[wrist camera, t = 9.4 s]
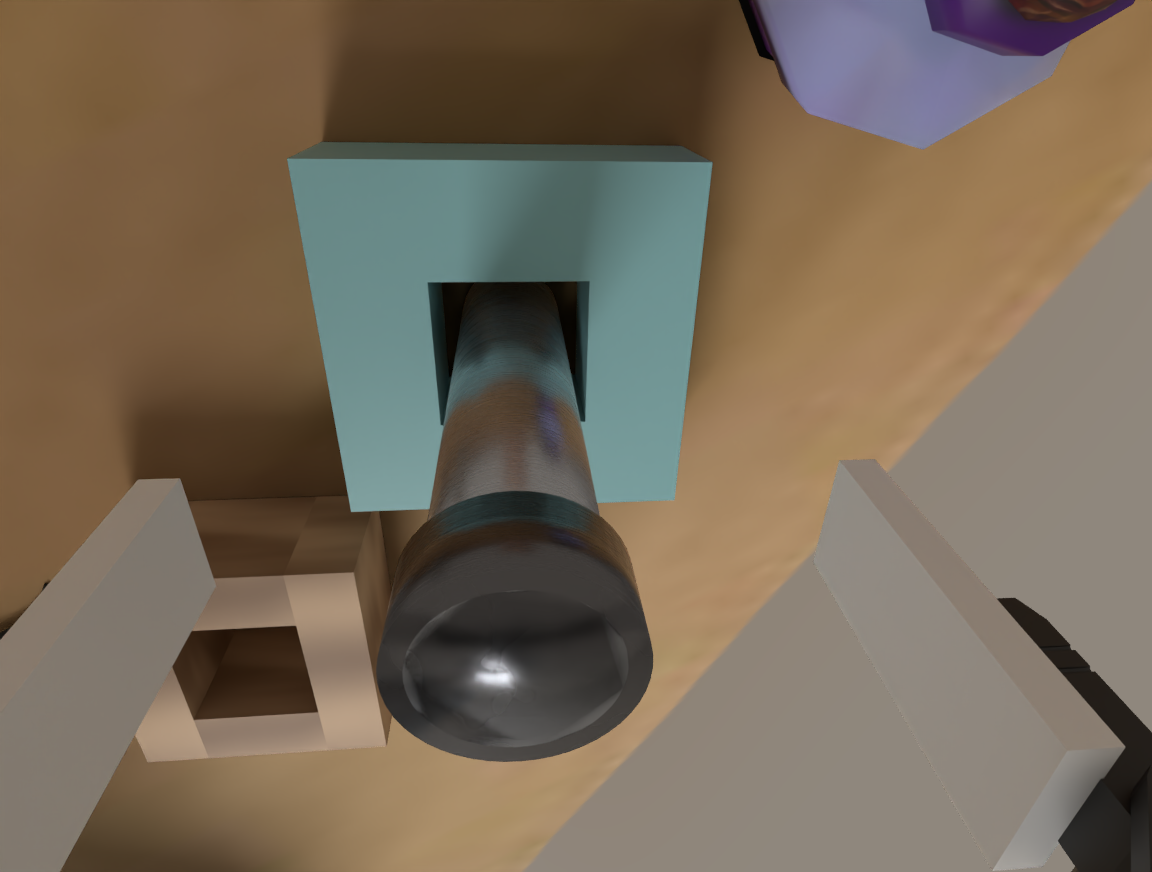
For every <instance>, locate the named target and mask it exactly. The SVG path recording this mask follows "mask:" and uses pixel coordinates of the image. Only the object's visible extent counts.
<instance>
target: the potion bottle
mask: <svg viewBox="0 0 1152 872" xmlns="http://www.w3.org/2000/svg"><path fill="white" fill-rule="evenodd" d="M1134 1H1135V0H739V2H740V5H741V7H742V10H743V13H744V16H745V18H746V21H747V24H748V26H749V29H750V32H751V35H752V37H753V40H754V43H755V45H756V48H757V51H758V54H759V56H761V57H764V58H767V59H770V60H773V61H775V64H776V67H777V70H778V73H779V76H780V79H781V82H782V83H783V85H784V86H785V87H786V88H787V89H788V90H789V92H790V93H791V94H792V95H793V96H794V98H795V99H796V100H797V101H798V102H799V103H800V105H801V106H802V107H803V108H804V109H805V111H806V112H807V113H809V114H812V115H815V116H818V117H821V118H824V119H828V120H831V121H834V122H837V123H840V124H843V125H847V126H850V127H853V128H856V129H859V130H862V131H866V132H869V133H872V134H875V135H878V136H881V137H885V138H888V139H891V140H894V141H897V142H901V143H904V144H907V145H910V146H913V147H916V148H920V149H925V148H927V147H928V146H930V145H932V144H934V143H935V142H937V141H939V140H941V139H942V138H944V137H946V136H948V135H949V134H951V133H953V132H954V131H956V130H958V129H960V128H961V127H963V126H965V125H967V124H968V123H970V122H972V121H974V120H975V119H977V118H979V117H981V116H982V115H984V114H986V113H988V112H989V111H991V110H993V109H995V108H996V107H998V106H1000V105H1002V104H1003V103H1005V102H1007V101H1009V100H1010V99H1012V98H1014V97H1016V96H1017V95H1019V94H1021V93H1023V92H1024V91H1026V90H1028V89H1030V88H1031V87H1033V86H1035V85H1037V84H1038V83H1040V82H1042V81H1044V80H1045V79H1047V78H1049V77H1050V76H1052V74H1053V72H1054V70H1055V68H1056V66H1057V65H1058V63H1059V61H1060V59H1061V57H1062V55H1063V53H1064V52H1065V50H1066V48H1067V46H1068V44H1069V42H1070V40H1072V39H1074V38H1075V37H1077V36H1079V35H1081V34H1082V33H1084V32H1086V31H1088V30H1089V29H1091V28H1093V27H1094V26H1096V25H1098V24H1100V23H1101V22H1103V21H1105V20H1107V19H1108V18H1110V17H1112V16H1113V15H1115V14H1117V13H1119V12H1120V11H1122V10H1124V9H1125V8H1127V7H1129V6H1131V5H1132V4H1133V3H1134Z"/></svg>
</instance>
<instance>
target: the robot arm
mask: <svg viewBox="0 0 1152 872" xmlns="http://www.w3.org/2000/svg"><path fill="white" fill-rule="evenodd" d="M813 563H814V565H815V566H816V568H817V570H818V572H819V573H820V575H821V577H822V578H823V580H824V582H825V584H826V585H827V587H828V589H829V590H830V592H831V594H832V596H833V597H834V599H835V601H836V603H837V604H838V606H839V608H840V609H841V611H842V613H843V615H844V616H845V618H846V620H847V622H848V623H849V625H850V627H851V628H852V630H853V632H854V633H855V635H856V637H857V639H858V640H859V642H860V644H861V646H862V647H863V649H864V651H865V653H866V654H867V656H868V658H869V660H870V661H871V663H872V665H873V666H874V668H875V670H876V672H877V673H878V675H879V677H880V678H881V680H882V682H883V684H884V685H885V687H886V689H887V690H888V692H889V694H890V696H891V697H892V699H893V701H894V703H895V704H896V706H897V708H898V710H899V711H900V713H901V715H902V716H903V718H904V720H905V721H906V723H907V725H908V727H909V728H910V730H911V732H912V733H913V735H914V737H915V739H916V740H917V742H918V744H919V746H920V747H921V749H922V751H923V753H924V754H925V756H926V758H927V760H928V761H929V763H930V765H931V766H932V768H933V770H934V772H935V773H936V775H937V777H938V778H939V780H940V782H941V784H942V785H943V787H944V789H945V790H946V792H947V794H948V796H949V797H950V799H951V801H952V803H953V804H954V806H955V808H956V810H957V811H958V813H959V815H960V816H961V818H962V820H963V822H964V823H965V825H966V827H967V829H968V830H969V832H970V834H971V835H972V837H973V839H974V841H975V842H976V844H977V846H978V847H979V849H980V851H981V852H982V854H983V856H984V858H985V860H986V861H987V863H988V865H989V866H990V868H991V870H992V871H999V870H1011V869H1022V868H1035V867H1043V865H1044V864H1045V862H1046V861H1047V860H1048V858H1049V857H1050V855H1051V854H1052V852H1053V851H1054V849H1055V848H1056V847H1057V845H1058V844H1059V843H1060V845H1061V846H1062V848H1063V849H1064V851H1065V852H1066V854H1067V855H1068V856H1069V858H1070V859H1071V861H1072V862H1073V864H1074V865H1075V868H1074V869H1073V870H1072V872H1152V732H1151V731H1150V730H1149V729H1148V728H1147V727H1146V726H1145V725H1144V724H1143V723H1142V722H1141V721H1140V719H1139V718H1138V717H1137V716H1136V715H1135V714H1134V713H1133V712H1132V711H1131V710H1130V709H1129V708H1128V707H1127V705H1126V704H1125V703H1124V702H1123V701H1122V700H1121V699H1120V698H1119V697H1118V696H1117V695H1116V694H1115V692H1113V690H1112V689H1110V687H1109V686H1108V685H1107V684H1106V683H1105V682H1104V681H1103V680H1102V679H1101V677H1100V676H1099V675H1098V674H1097V673H1096V672H1091V670H1090V666H1089V665H1088V663H1087V662H1086V661H1085V660H1084V659H1083V658H1082V657H1081V656H1080V655H1079V654H1078V653H1077V652H1076V650H1071V648H1070V644H1069V643H1068V642H1067V641H1066V640H1065V639H1064V638H1063V636H1062V635H1061V634H1060V633H1059V632H1058V631H1057V630H1056V629H1055V628H1054V627H1053V626H1052V625H1051V624H1050V622H1048V620H1047V619H1045V618H1044V617H1042V616H1041V615H1039V614H1038V613H1036V612H1035V611H1034V610H1032V609H1031V608H1029V607H1028V606H1026V605H1025V604H1023V603H1022V602H1020V601H1019V600H1017V599H1016V598H999V599H996V598H995V596H994V595H993V594H992V593H991V592H990V591H989V590H988V588H987V587H986V586H985V585H984V584H983V583H982V582H981V580H980V579H979V578H978V577H977V576H976V575H975V574H974V572H973V571H972V570H971V569H970V568H969V567H968V566H967V564H966V563H965V562H964V561H963V560H962V559H961V558H960V556H959V555H958V554H957V553H956V552H955V551H954V549H953V548H952V547H951V546H950V545H949V544H948V543H947V541H946V540H945V539H944V538H943V537H942V536H941V535H940V533H939V532H938V531H937V530H936V529H935V528H934V527H933V525H932V524H931V523H930V522H929V521H928V520H927V519H926V517H925V516H924V515H923V514H922V513H921V512H920V511H919V509H918V508H917V507H916V506H915V505H914V504H913V502H912V501H911V500H910V499H909V498H908V497H907V496H906V494H905V493H904V492H903V491H902V490H901V489H900V488H899V486H898V485H897V484H896V483H895V482H894V481H893V480H892V478H891V477H890V476H889V475H888V474H887V473H886V471H885V470H884V469H883V468H882V467H881V466H880V465H879V463H878V462H877V461H876V460H875V459H869V460H839V464H838V468H837V472H836V476H835V480H834V483H833V487H832V491H831V495H830V499H829V503H828V506H827V510H826V514H825V518H824V522H823V526H822V530H821V533H820V537H819V541H818V545H817V549H816V553H815V556H814V560H813ZM215 587H216V584H215V581H214V578H213V575H212V572H211V569H210V566H209V563H208V560H207V557H206V554H205V551H204V548H203V545H202V542H201V539H200V536H199V533H198V530H197V527H196V524H195V521H194V518H193V515H192V512H191V509H190V507H189V504H188V501H187V498H186V495H185V492H184V489H183V486H182V483H181V480H180V478H175V479H138V480H137V481H136V483H135V484H134V485H133V486H132V487H131V488H130V490H129V491H128V492H127V493H126V494H125V495H124V497H123V498H122V499H121V500H120V501H119V502H118V504H117V505H116V506H115V507H114V508H113V509H112V511H111V512H110V513H109V514H108V515H107V516H106V518H105V519H104V520H103V521H102V522H101V523H100V525H99V526H98V527H97V528H96V529H95V530H94V532H93V533H92V534H91V535H90V536H89V537H88V539H87V540H86V541H85V542H84V543H83V544H82V545H81V547H80V548H79V549H78V550H77V551H76V552H75V554H74V555H73V556H72V557H71V558H70V559H69V561H68V562H67V563H66V564H65V565H64V566H63V568H62V569H61V570H60V571H59V572H58V573H57V575H56V576H55V577H54V578H53V579H52V580H51V582H50V583H49V584H48V585H47V586H46V587H45V589H44V590H43V591H42V592H41V593H40V594H39V596H38V597H37V598H36V599H35V600H34V601H33V603H32V604H31V605H30V606H29V607H28V608H27V610H26V611H25V612H24V613H23V614H22V615H21V617H20V618H19V619H18V620H17V621H16V622H15V624H14V625H13V626H12V627H11V628H10V629H9V631H8V632H7V633H6V634H5V635H4V636H3V637H2V639H1V640H0V872H60V871H61V869H62V867H63V865H64V864H65V862H66V860H67V858H68V856H69V854H70V853H71V851H72V849H73V847H74V845H75V843H76V842H77V840H78V838H79V836H80V834H81V832H82V831H83V829H84V827H85V825H86V823H87V821H88V820H89V818H90V816H91V814H92V812H93V810H94V809H95V807H96V805H97V803H98V801H99V800H100V798H101V796H102V794H103V792H104V790H105V789H106V787H107V785H108V783H109V781H110V779H111V778H112V776H113V774H114V772H115V770H116V768H117V767H118V765H119V763H120V761H121V759H122V757H123V756H124V754H125V752H126V750H127V748H128V746H129V745H130V743H131V741H132V739H133V737H134V735H135V734H136V732H137V730H138V728H139V726H140V724H141V723H142V721H143V719H144V717H145V715H146V713H147V712H148V710H149V708H150V706H151V704H152V703H153V701H154V699H155V697H156V695H157V693H158V692H159V690H160V688H161V686H162V684H163V682H164V681H165V679H166V677H167V675H168V673H169V671H170V670H171V668H172V666H173V664H174V662H175V660H176V659H177V657H178V655H179V653H180V651H181V649H182V648H183V646H184V644H185V642H186V640H187V638H188V637H189V635H190V633H191V631H192V629H193V627H194V626H195V624H196V622H197V620H198V618H199V616H200V615H201V613H202V611H203V609H204V607H205V606H206V604H207V602H208V600H209V598H210V596H211V595H212V593H213V591H214V589H215Z"/></svg>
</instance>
